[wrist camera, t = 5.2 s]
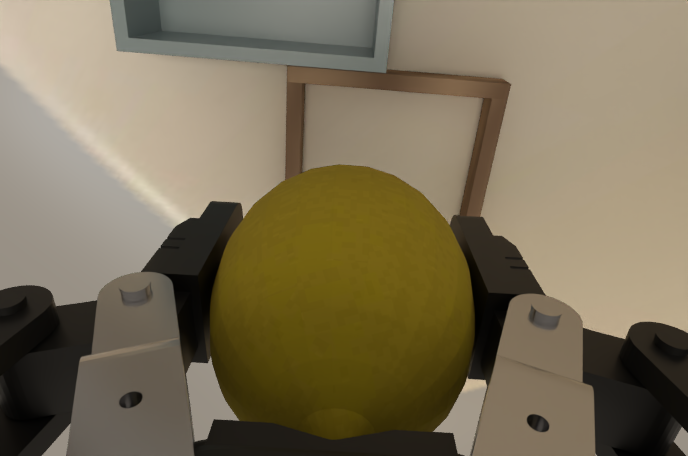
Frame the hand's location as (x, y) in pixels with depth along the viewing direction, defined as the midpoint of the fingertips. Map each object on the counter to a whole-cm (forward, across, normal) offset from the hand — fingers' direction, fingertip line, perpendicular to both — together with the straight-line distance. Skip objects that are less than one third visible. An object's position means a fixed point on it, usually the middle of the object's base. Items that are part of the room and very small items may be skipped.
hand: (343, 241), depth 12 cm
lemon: (+2, 0, 0) cm, 2 cm away
